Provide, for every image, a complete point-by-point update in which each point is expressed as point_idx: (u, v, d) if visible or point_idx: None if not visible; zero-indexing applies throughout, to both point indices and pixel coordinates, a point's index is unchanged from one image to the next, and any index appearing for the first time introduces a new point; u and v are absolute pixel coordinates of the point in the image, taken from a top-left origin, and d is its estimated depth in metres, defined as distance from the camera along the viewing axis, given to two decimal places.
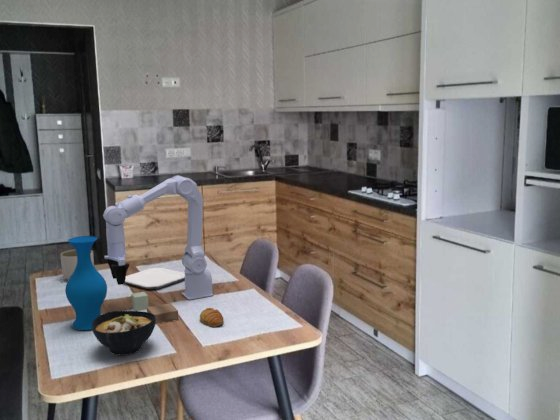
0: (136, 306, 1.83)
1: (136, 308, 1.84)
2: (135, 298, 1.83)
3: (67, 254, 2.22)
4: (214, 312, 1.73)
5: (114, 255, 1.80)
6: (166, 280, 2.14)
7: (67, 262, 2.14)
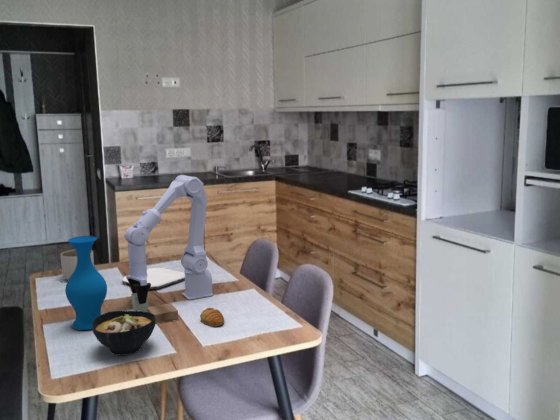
0: (136, 306, 1.83)
1: (136, 308, 1.84)
2: (135, 298, 1.83)
3: (67, 254, 2.22)
4: (215, 312, 1.73)
5: (136, 275, 1.82)
6: (166, 280, 2.14)
7: (67, 262, 2.14)
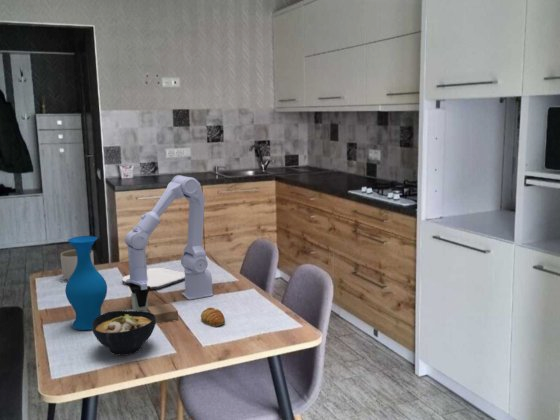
0: (136, 306, 1.83)
1: (136, 308, 1.84)
2: (135, 298, 1.83)
3: (67, 254, 2.22)
4: (215, 312, 1.73)
5: (136, 279, 1.82)
6: (166, 280, 2.14)
7: (67, 262, 2.14)
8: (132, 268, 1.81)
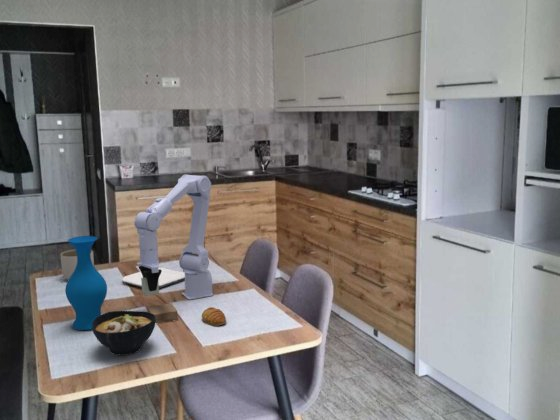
0: (146, 290, 1.77)
1: (146, 293, 1.77)
2: (145, 282, 1.76)
3: (67, 254, 2.22)
4: (216, 311, 1.73)
5: (147, 262, 1.75)
6: (166, 280, 2.14)
7: (67, 262, 2.14)
8: (143, 251, 1.75)
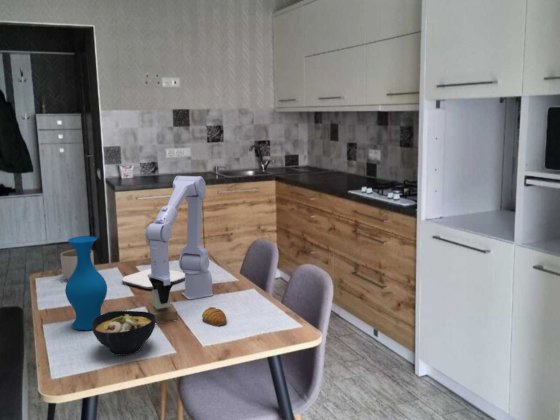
0: (157, 303, 1.73)
1: (157, 305, 1.73)
2: (156, 295, 1.73)
3: (67, 254, 2.22)
4: (217, 311, 1.74)
5: (158, 274, 1.72)
6: None
7: (67, 262, 2.14)
8: (154, 262, 1.71)
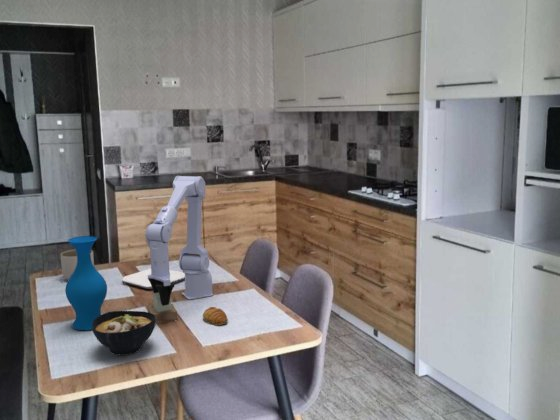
0: (158, 306, 1.74)
1: (158, 308, 1.74)
2: (157, 298, 1.73)
3: (67, 254, 2.22)
4: (217, 311, 1.74)
5: (158, 275, 1.72)
6: None
7: (67, 262, 2.14)
8: (154, 263, 1.71)
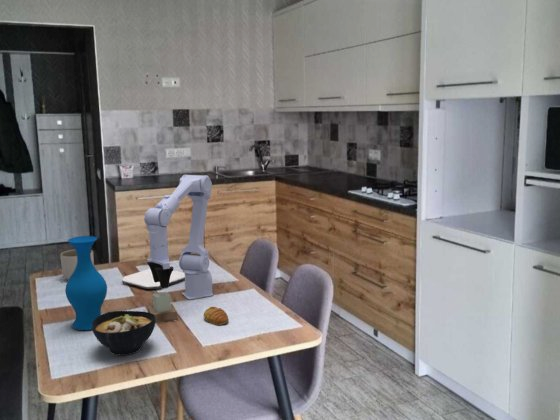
0: (158, 307, 1.73)
1: (158, 309, 1.73)
2: (157, 298, 1.73)
3: (67, 254, 2.22)
4: (218, 310, 1.74)
5: (157, 258, 1.74)
6: None
7: (67, 262, 2.14)
8: (153, 247, 1.73)
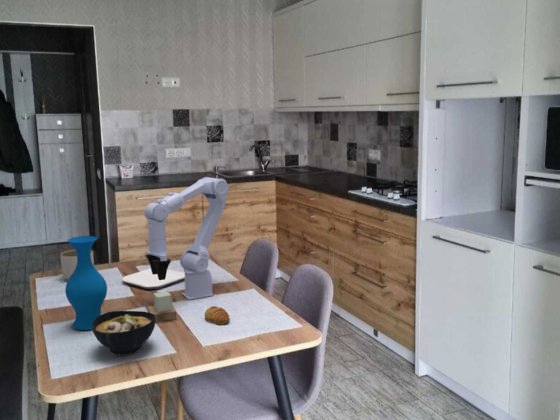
0: (159, 306, 1.74)
1: (159, 309, 1.74)
2: (158, 298, 1.73)
3: (67, 254, 2.22)
4: (219, 310, 1.75)
5: (156, 251, 1.82)
6: (166, 280, 2.14)
7: (67, 262, 2.14)
8: (152, 240, 1.82)
